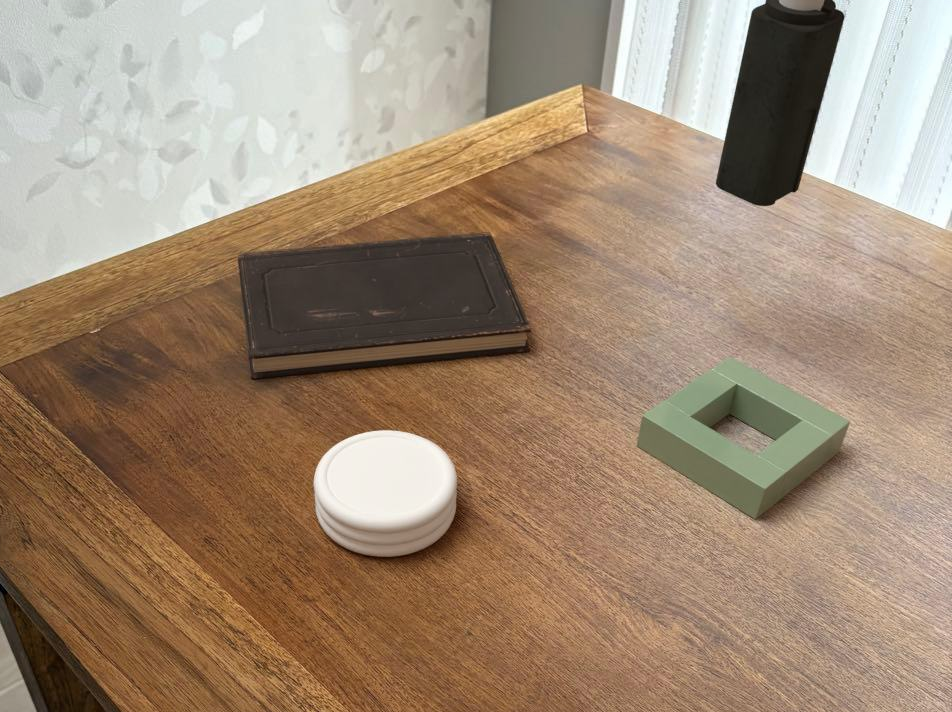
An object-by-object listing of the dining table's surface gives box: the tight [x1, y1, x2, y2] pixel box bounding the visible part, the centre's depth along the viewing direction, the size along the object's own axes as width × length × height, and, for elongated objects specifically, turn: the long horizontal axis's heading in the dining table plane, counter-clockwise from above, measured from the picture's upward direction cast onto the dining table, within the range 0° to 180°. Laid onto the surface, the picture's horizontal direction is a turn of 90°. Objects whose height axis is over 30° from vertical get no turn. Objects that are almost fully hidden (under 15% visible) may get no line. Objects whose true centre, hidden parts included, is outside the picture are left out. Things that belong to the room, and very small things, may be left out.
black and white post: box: [715, 0, 846, 207], centre depth 76 cm, size 5×5×25 cm
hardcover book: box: [236, 231, 532, 380], centre depth 96 cm, size 16×23×2 cm
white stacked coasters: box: [312, 429, 458, 558], centre depth 78 cm, size 10×10×4 cm
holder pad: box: [636, 356, 851, 520], centre depth 83 cm, size 11×11×3 cm
